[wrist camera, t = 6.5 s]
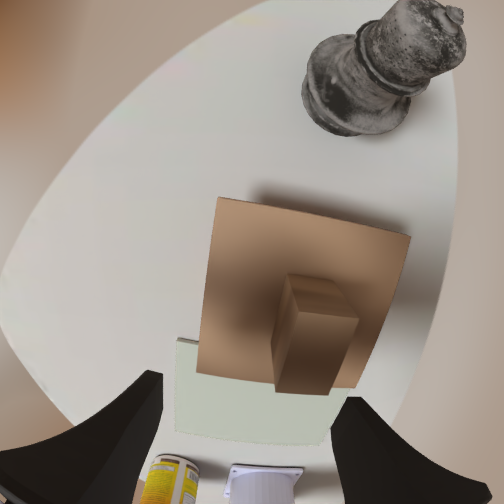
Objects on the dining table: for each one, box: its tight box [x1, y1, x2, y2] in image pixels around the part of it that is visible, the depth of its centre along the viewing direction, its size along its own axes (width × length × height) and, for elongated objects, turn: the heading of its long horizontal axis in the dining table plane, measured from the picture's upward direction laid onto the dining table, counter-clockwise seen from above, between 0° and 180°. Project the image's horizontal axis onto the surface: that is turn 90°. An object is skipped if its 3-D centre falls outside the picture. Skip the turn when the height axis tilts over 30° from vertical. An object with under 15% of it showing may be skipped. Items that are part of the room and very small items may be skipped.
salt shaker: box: [302, 0, 466, 137], centre depth 9 cm, size 6×6×12 cm
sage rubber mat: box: [175, 338, 350, 446], centre depth 21 cm, size 11×14×1 cm
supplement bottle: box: [140, 455, 199, 504], centre depth 20 cm, size 6×6×10 cm
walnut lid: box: [196, 197, 411, 396], centre depth 13 cm, size 10×10×5 cm
